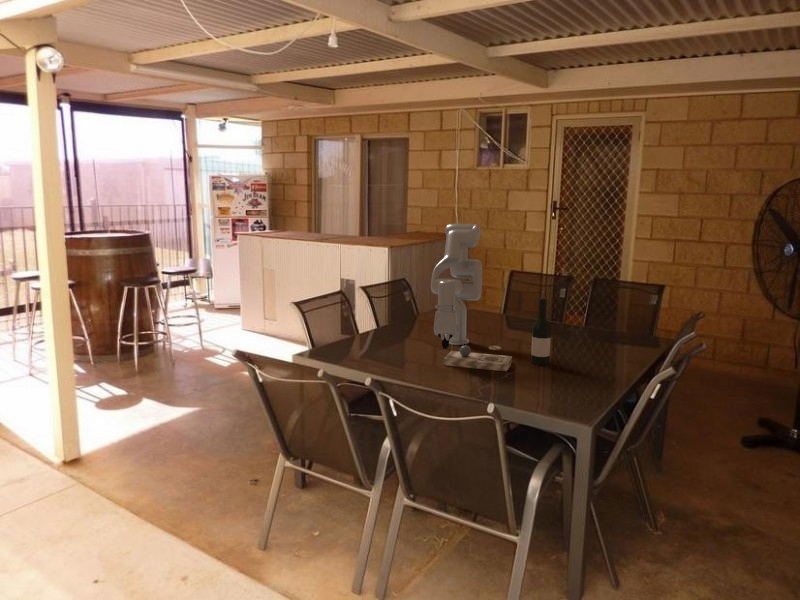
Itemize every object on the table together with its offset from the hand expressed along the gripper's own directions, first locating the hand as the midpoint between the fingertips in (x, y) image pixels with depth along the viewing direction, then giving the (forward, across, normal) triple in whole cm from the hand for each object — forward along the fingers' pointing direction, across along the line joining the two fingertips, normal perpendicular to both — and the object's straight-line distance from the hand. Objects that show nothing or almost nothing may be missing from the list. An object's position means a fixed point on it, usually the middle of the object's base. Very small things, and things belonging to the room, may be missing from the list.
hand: (445, 348), depth 274 cm
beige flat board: (+6, +15, +1) cm, 16 cm away
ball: (0, +9, +1) cm, 9 cm away
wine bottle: (+6, +41, +11) cm, 43 cm away
